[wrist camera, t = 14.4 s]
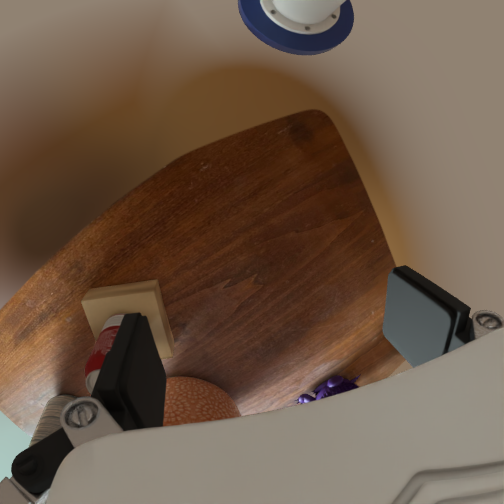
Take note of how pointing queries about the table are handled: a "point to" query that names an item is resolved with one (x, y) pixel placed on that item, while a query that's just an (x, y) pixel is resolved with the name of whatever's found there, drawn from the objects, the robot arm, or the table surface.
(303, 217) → the table surface
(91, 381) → the soda can
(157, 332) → the oak block
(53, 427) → the vase
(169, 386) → the planter
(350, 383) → the creature
